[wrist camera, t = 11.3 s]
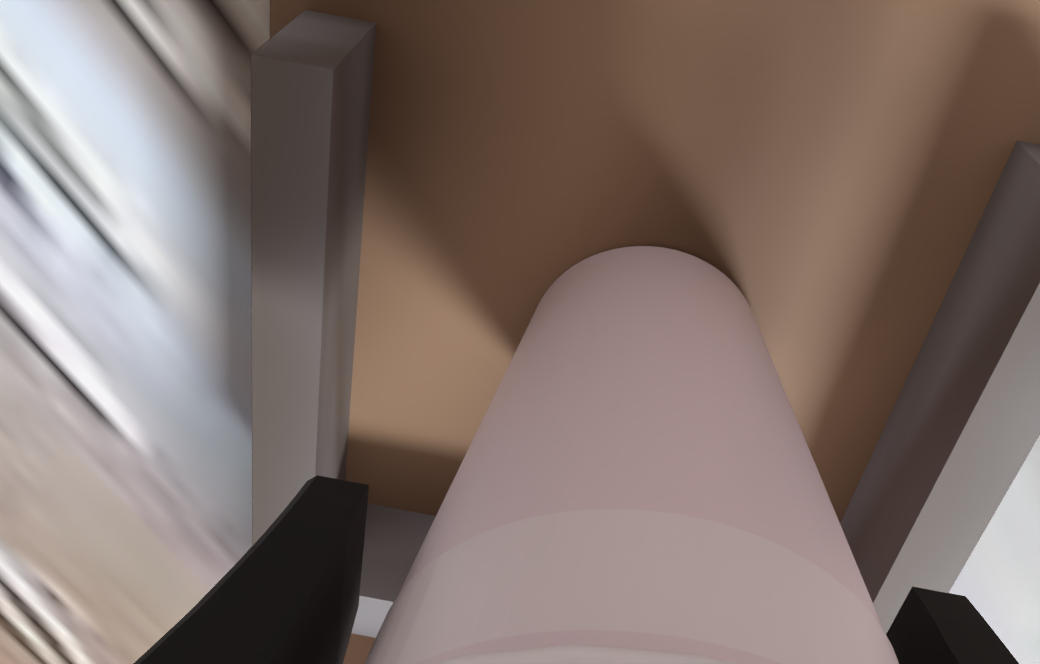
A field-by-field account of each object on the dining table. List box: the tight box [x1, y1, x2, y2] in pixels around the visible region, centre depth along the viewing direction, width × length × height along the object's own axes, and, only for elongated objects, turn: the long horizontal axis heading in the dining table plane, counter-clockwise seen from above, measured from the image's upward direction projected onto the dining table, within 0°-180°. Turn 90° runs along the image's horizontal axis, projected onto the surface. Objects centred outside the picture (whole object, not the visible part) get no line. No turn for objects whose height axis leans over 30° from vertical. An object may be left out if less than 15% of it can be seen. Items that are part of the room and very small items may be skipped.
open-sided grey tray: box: [251, 0, 1040, 664], centre depth 15 cm, size 12×20×7 cm, turn 171°
